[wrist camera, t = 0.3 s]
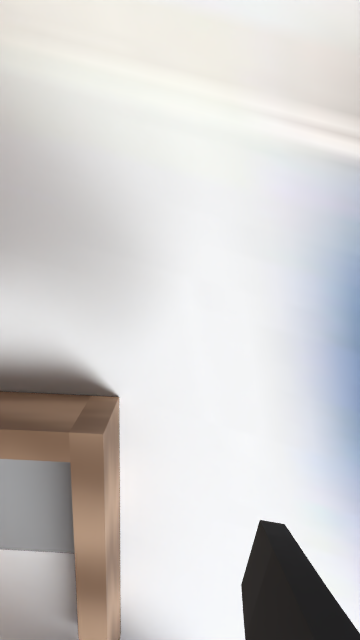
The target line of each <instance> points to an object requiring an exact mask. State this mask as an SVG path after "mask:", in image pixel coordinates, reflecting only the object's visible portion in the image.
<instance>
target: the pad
mask: <svg viewBox="0 0 360 640" xmlns="http://www.w3.org/2000/svg"><path fill="white" fill-rule="evenodd" d="M0 549H4V550H23V551H41V552H60V553H75V550H74V529H73V507H72V486H71V465H70V462H53V461H33V460H13V459H0Z"/></svg>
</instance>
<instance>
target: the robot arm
mask: <svg viewBox="0 0 360 640" xmlns="http://www.w3.org/2000/svg"><path fill="white" fill-rule="evenodd" d="M242 601H243V615H244V627H245V639H246V640H360V633H359V632H358V631H357V629H356V628H355V626H354V625H353V623H352V622H351V621H350V619H349V618H348V616H347V615H346V614H345V612H344V611H343V609H342V608H341V607H340V605H339V604H338V602H337V601H336V600H335V598H334V597H333V595H332V594H331V592H330V591H329V589H328V588H327V587H326V585H325V584H324V582H323V581H322V579H321V578H320V576H319V575H318V573H317V572H316V570H315V569H314V567H313V566H312V564H311V563H310V561H309V560H308V559H307V557H306V556H305V554H304V553H303V551H302V550H301V548H300V547H299V545H298V544H297V542H296V541H295V539H294V538H293V536H292V535H291V533H290V532H289V530H288V529H287V527H286V526H285V524H280V523H274V522H268V521H262V520H260V522H259V525H258V529H257V532H256V536H255V539H254V543H253V546H252V550H251V553H250V557H249V560H248V564H247V567H246V571H245V574H244V578H243V581H242Z"/></svg>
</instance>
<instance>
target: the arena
mask: <svg viewBox="0 0 360 640" xmlns="http://www.w3.org/2000/svg"><path fill="white" fill-rule="evenodd" d="M0 459H13V460H33V461H53V462H70V465H71V486H72V507H73V529H74V550H75V571H76V592H77V613H78V635H79V640H120V634H121V621H120V463H119V397H110V396H89V395H67V394H46V393H25V392H3V391H0Z"/></svg>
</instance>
